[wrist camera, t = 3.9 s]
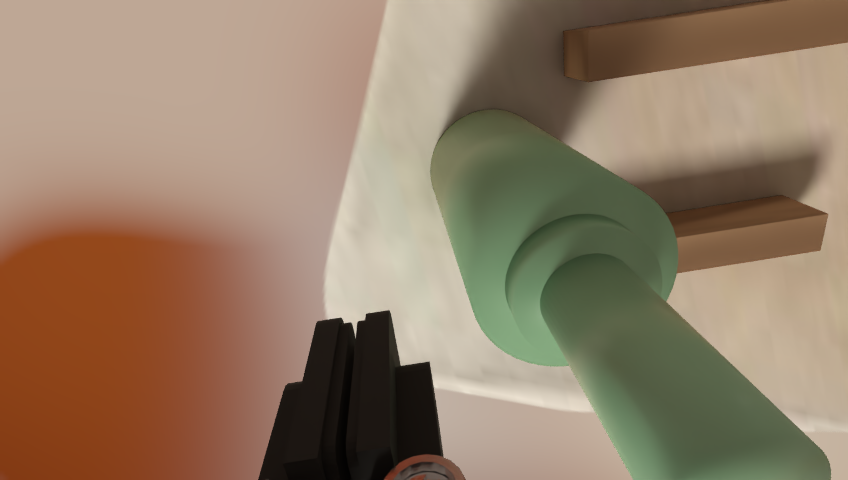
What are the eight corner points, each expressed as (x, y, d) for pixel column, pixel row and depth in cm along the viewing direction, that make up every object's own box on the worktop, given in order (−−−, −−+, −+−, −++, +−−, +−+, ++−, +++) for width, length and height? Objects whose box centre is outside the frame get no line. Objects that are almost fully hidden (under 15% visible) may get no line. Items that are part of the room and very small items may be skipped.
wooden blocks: (563, 31, 22) (588, 30, 19) (1025, -39, 23) (1114, -49, 20) (567, 261, 27) (588, 287, 24) (948, 201, 27) (1011, 220, 25)
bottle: (422, 119, 23) (541, 373, 6) (544, 100, 23) (1008, 297, 6) (438, 231, 26) (553, 647, 8) (548, 214, 26) (887, 588, 8)
